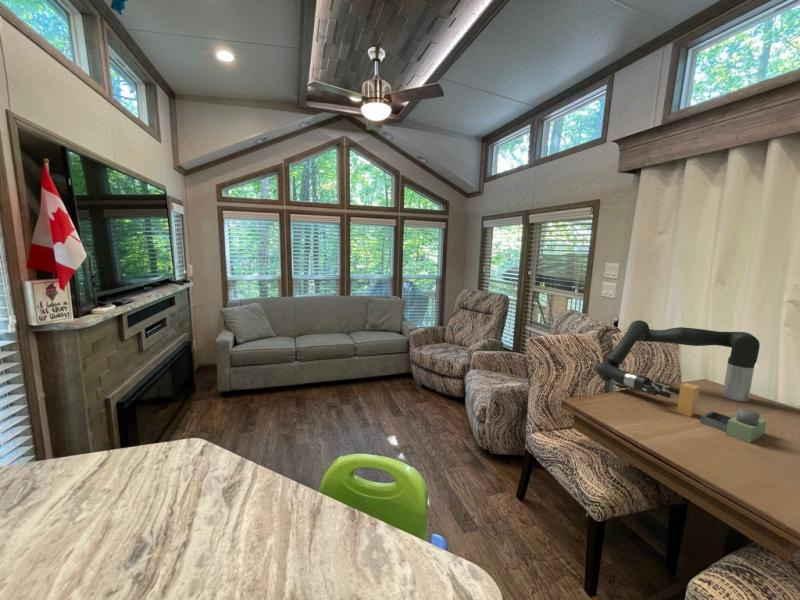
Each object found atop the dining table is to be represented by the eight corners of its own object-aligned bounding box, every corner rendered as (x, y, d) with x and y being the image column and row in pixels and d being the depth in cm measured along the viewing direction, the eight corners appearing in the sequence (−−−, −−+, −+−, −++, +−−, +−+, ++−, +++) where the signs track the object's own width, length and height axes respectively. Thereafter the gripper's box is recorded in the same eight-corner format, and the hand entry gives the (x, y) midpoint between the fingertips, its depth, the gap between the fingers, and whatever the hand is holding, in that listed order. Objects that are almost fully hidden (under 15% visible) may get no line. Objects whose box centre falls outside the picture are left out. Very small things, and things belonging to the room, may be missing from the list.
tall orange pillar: (682, 409, 155) (685, 382, 153) (695, 414, 150) (699, 386, 148) (676, 411, 152) (680, 384, 150) (690, 416, 148) (694, 388, 146)
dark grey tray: (711, 417, 147) (712, 411, 147) (738, 426, 140) (739, 420, 139) (700, 422, 143) (701, 416, 142) (728, 432, 135) (729, 425, 135)
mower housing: (739, 425, 141) (743, 403, 139) (764, 433, 134) (768, 410, 133) (725, 433, 134) (728, 410, 133) (749, 443, 128) (754, 418, 126)
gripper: (644, 386, 172) (681, 398, 158) (628, 391, 166) (666, 405, 152) (645, 372, 171) (683, 383, 157) (629, 377, 165) (667, 389, 150)
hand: (675, 394), depth 154 cm, fingers open, 8 cm apart
